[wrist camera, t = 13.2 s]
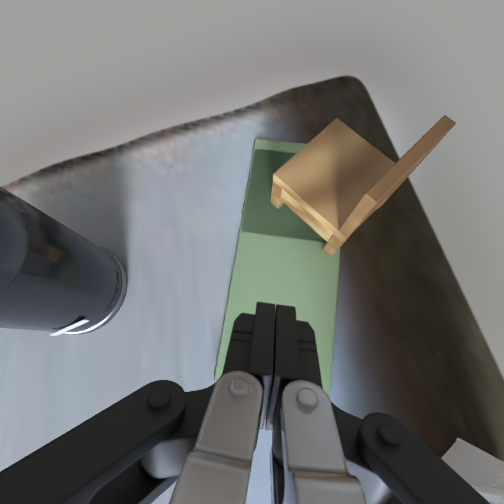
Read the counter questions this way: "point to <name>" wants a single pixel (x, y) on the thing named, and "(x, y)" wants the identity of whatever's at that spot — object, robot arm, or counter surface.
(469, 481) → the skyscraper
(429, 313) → the counter surface
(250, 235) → the mat
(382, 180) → the chair
